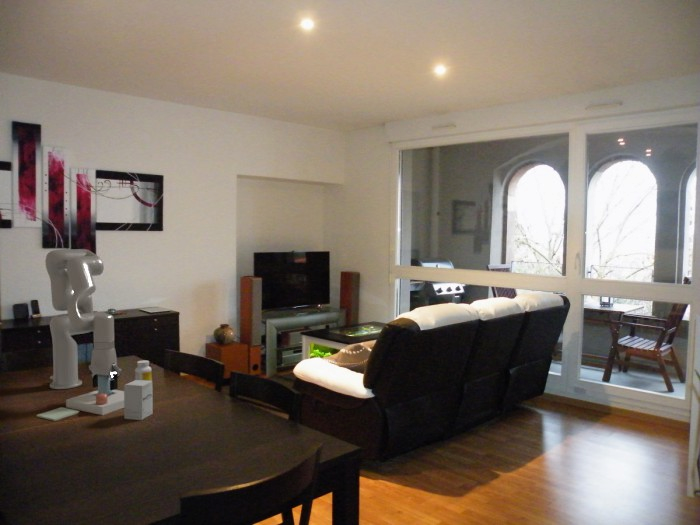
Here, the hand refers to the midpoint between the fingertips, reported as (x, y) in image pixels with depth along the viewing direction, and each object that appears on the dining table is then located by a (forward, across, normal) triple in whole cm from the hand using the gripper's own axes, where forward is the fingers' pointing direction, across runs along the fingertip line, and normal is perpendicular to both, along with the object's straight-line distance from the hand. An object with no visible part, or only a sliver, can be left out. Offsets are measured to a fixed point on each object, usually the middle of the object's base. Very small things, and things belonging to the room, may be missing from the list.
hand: (105, 388), depth 217 cm
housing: (+5, +3, -3) cm, 7 cm away
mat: (+5, -2, -19) cm, 20 cm away
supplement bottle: (+6, +3, +17) cm, 18 cm away
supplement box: (+6, +26, -7) cm, 27 cm away
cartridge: (+5, 0, 0) cm, 5 cm away
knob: (+4, +9, -9) cm, 13 cm away
